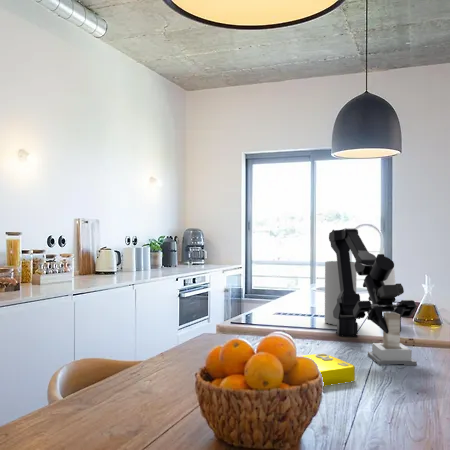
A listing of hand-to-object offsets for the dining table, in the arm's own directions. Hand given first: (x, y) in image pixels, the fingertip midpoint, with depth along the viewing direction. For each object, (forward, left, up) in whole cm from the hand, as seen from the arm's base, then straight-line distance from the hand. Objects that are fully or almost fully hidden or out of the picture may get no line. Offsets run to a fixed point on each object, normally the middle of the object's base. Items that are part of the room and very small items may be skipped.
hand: (393, 332), depth 151 cm
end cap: (0, +1, -8) cm, 9 cm away
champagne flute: (+19, +62, -9) cm, 65 cm away
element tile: (-26, -15, -9) cm, 31 cm away
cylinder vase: (-2, +57, -9) cm, 58 cm away
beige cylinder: (0, +1, -7) cm, 7 cm away
